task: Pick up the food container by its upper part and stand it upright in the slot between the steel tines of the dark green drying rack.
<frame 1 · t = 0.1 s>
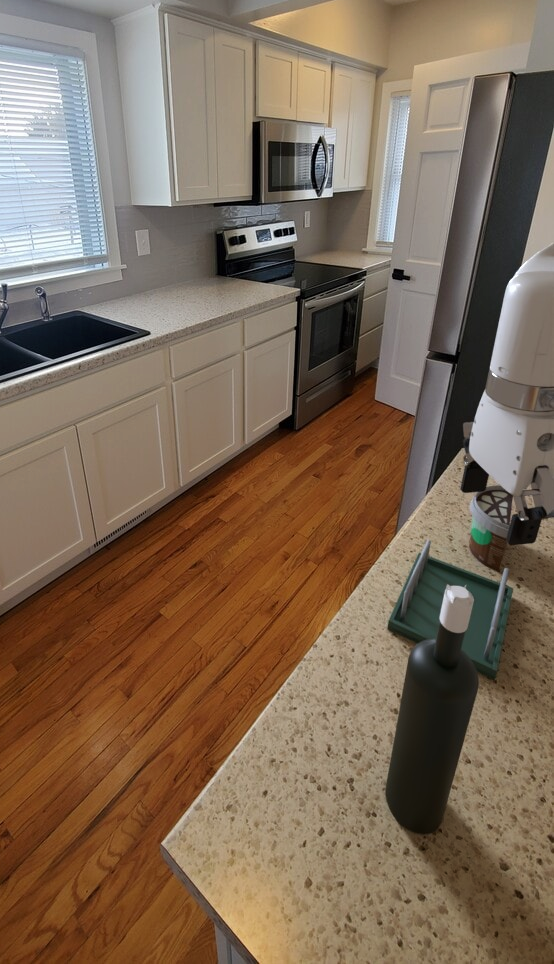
hand: (494, 514, 60), 22 cm above the countertop, tool pointing down, fingers open, 9 cm apart
drying rack: (450, 612, 72), on the countertop
wine bottle: (413, 801, 51), on the countertop
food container: (481, 548, 84), on the countertop
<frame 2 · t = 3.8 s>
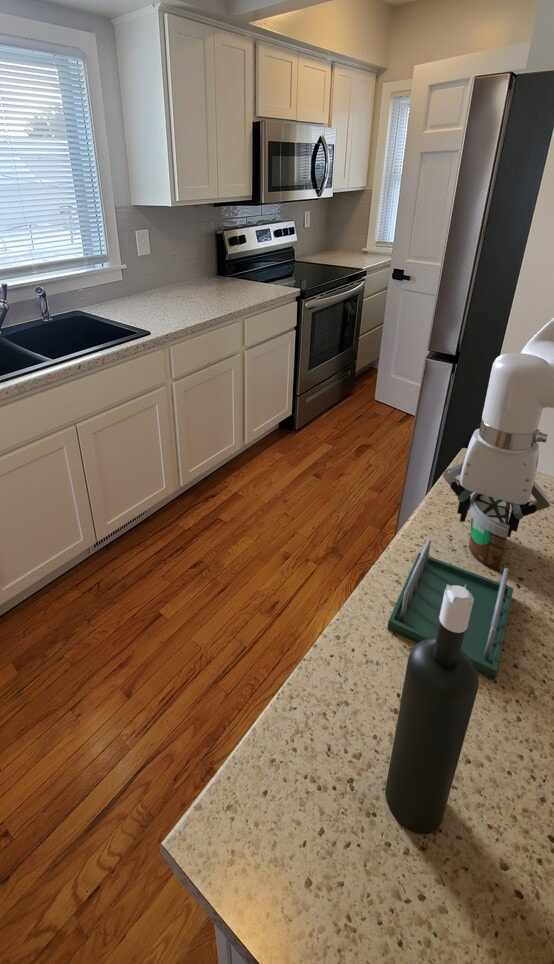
hand: (485, 523, 82), 5 cm above the countertop, tool pointing down, fingers closed on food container, 6 cm apart
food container: (481, 548, 84), on the countertop, touching gripper
everything else where it was.
when the fingers open (6 cm above the countertop, at t = 10.6 s): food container stays where it is, resting on drying rack.
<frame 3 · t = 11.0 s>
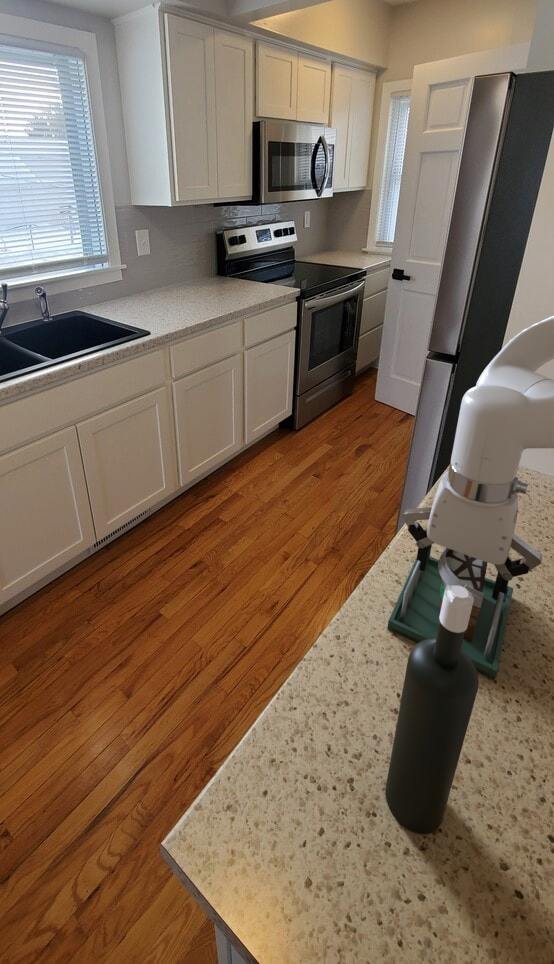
hand: (458, 578, 70), 7 cm above the countertop, tool pointing down, fingers open, 9 cm apart
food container: (452, 609, 72), point 1 cm above the countertop, touching drying rack
everything else where it was.
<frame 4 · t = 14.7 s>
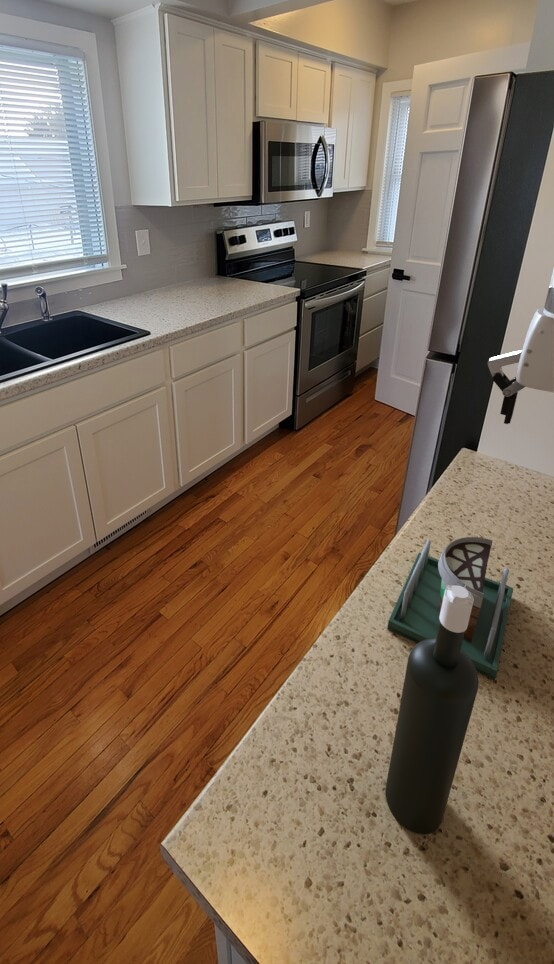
hand: (548, 428, 65), 28 cm above the countertop, tool pointing down, fingers open, 9 cm apart
nothing on the countertop moved.
at the end: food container inside the target area on the drying rack (0.2 cm from its centre), point 0.6 cm above the drying rack's base; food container tilted 0°; the gripper is holding nothing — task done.
